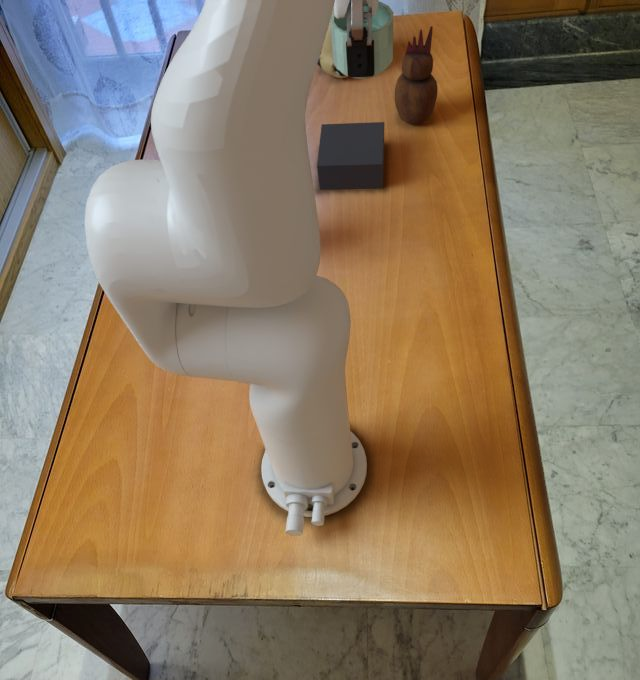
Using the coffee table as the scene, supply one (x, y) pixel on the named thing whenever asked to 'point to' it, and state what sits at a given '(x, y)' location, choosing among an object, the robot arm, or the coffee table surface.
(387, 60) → the bowl
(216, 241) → the robot arm
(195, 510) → the coffee table surface
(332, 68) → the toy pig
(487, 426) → the coffee table surface
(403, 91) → the wooden figurine
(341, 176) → the block
